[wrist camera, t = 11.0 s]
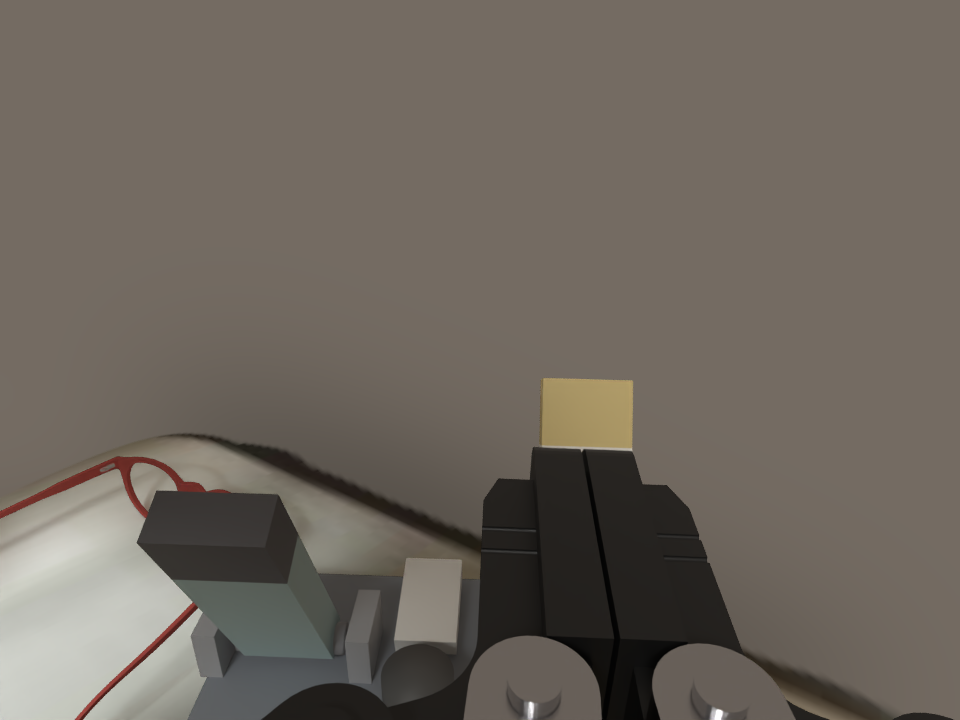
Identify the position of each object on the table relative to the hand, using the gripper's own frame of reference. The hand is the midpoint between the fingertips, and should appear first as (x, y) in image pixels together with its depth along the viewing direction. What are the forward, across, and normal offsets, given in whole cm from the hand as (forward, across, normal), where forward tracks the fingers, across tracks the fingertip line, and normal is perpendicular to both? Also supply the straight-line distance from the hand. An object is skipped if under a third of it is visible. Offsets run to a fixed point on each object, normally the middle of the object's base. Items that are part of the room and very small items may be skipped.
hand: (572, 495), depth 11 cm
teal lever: (+13, +10, +19) cm, 25 cm away
